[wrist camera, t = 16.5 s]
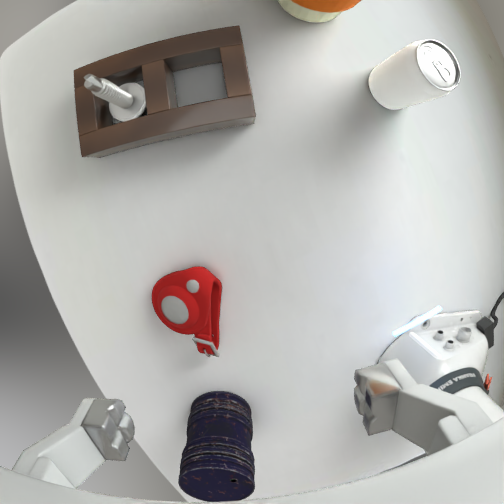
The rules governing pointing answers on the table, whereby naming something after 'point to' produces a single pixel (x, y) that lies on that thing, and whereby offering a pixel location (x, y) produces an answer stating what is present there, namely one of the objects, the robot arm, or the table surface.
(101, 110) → the holder
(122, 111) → the screw
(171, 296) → the tracker holder
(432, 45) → the can
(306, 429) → the table surface
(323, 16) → the reusable coffee cup
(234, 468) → the dark blue cylinder
